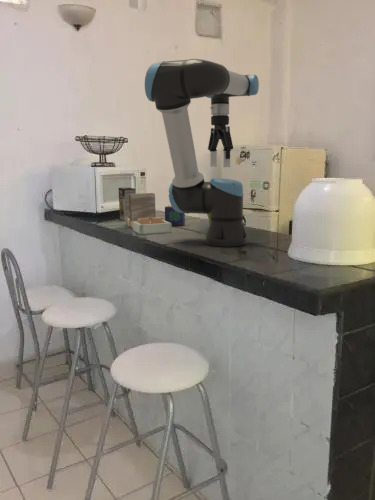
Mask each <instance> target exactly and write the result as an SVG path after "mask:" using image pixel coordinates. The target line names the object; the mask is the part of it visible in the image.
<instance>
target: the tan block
mask: <svg viewBox="0 0 375 500" xmlns="http://www.w3.org/2000/svg"><path fill="white" fill-rule="evenodd" d="M129 212H130V221H132V222H134V221H138V218H149V219H150V221H151V218H153V217H156V214H157V213H156V194H155V193H153V192H149V193H148V192H147V193H145V192H144V193H136V194H129Z"/></svg>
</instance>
